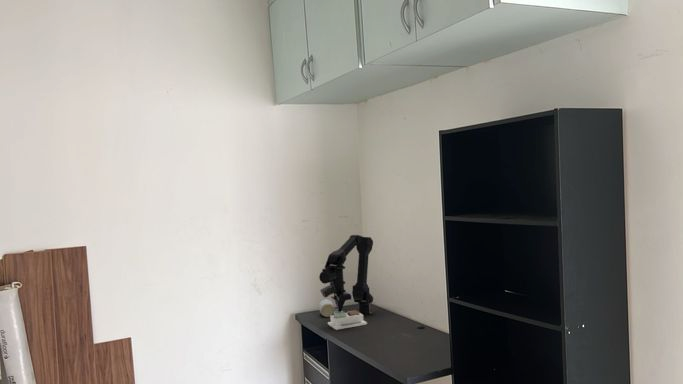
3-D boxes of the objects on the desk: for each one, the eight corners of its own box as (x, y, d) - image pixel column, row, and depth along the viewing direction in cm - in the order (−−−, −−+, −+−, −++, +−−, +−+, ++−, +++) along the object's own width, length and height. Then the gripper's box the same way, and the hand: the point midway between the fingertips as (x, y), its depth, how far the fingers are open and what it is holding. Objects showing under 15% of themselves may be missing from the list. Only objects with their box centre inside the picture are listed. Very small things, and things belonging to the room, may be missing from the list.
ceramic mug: (321, 318, 278) (320, 303, 277) (319, 314, 286) (318, 299, 285) (341, 316, 279) (341, 301, 279) (339, 312, 287) (338, 298, 287)
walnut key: (347, 317, 268) (347, 311, 267) (355, 316, 269) (355, 310, 269) (351, 319, 263) (350, 313, 263) (359, 318, 265) (359, 312, 265)
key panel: (327, 324, 266) (327, 316, 266) (358, 319, 272) (357, 311, 271) (335, 329, 256) (335, 321, 255) (367, 324, 261) (366, 316, 261)
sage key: (334, 318, 265) (333, 311, 265) (342, 316, 267) (342, 310, 266) (337, 320, 261) (337, 313, 261) (345, 318, 262) (345, 312, 262)
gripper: (315, 278, 269) (317, 310, 269) (328, 285, 252) (330, 318, 252) (336, 275, 273) (338, 306, 273) (350, 281, 256) (352, 314, 256)
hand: (339, 311), depth 264 cm, fingers closed
